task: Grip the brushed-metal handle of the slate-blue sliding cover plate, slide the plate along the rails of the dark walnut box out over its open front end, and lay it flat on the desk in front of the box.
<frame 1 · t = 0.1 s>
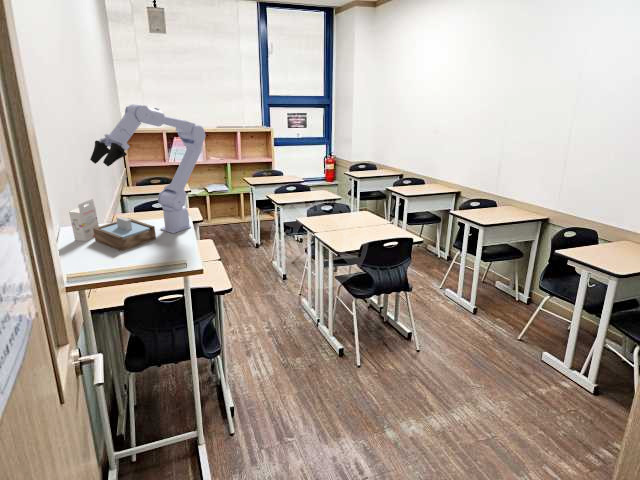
hand: (99, 163, 146), 32 cm above the table, tool tilted 50°, fingers open, 7 cm apart
walnut box: (126, 240, 167), on the table
ink cartridge box: (87, 237, 169), on the table
cover plate: (125, 230, 165), point 4 cm above the table, touching walnut box
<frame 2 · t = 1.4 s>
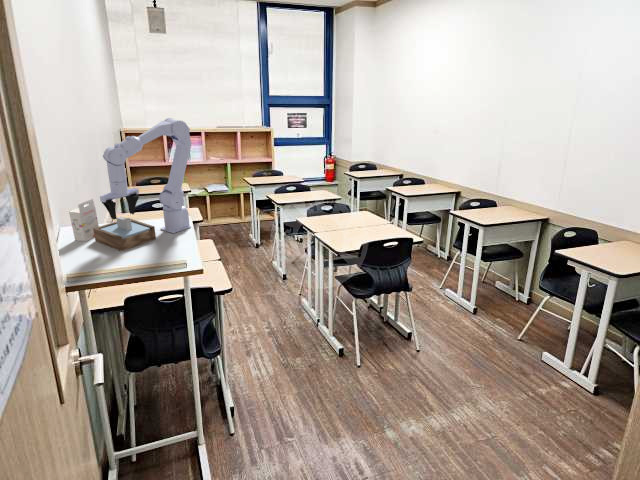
hand: (123, 216, 163), 10 cm above the table, tool pointing down, fingers open, 7 cm apart
nothing on the table moved.
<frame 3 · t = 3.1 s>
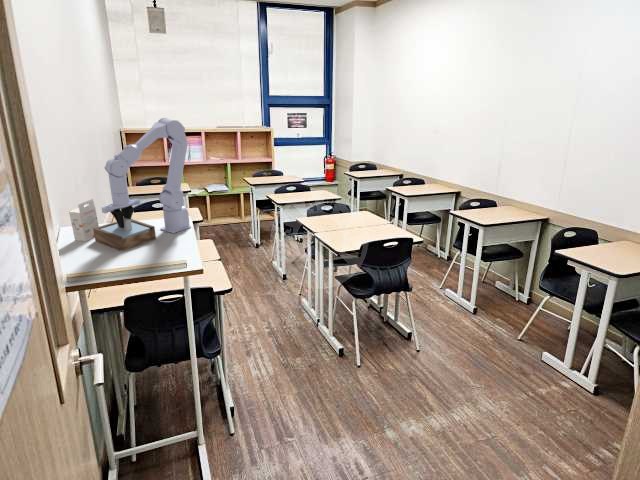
hand: (124, 226, 165), 6 cm above the table, tool pointing down, fingers closed on cover plate
cover plate: (125, 230, 165), point 4 cm above the table, touching gripper, walnut box
everything else where it was.
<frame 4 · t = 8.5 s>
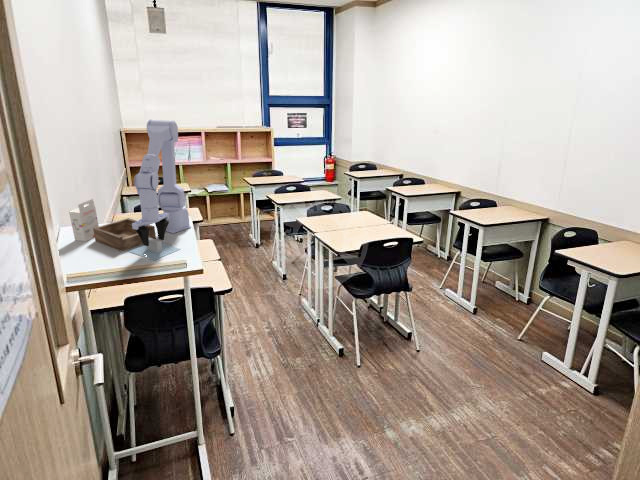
hand: (153, 242, 158), 3 cm above the table, tool pointing down, fingers open, 6 cm apart
cover plate: (154, 252, 159), on the table
everything else where it was.
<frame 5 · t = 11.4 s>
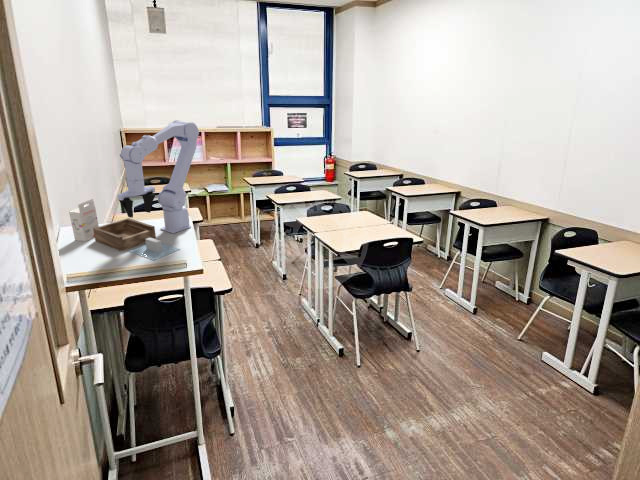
hand: (139, 214, 164), 10 cm above the table, tool pointing down, fingers open, 7 cm apart
nothing on the table moved.
at the end: cover plate inside the target area (0.3 cm from its centre), on the table; cover plate tilted 0°; the gripper is holding nothing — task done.
